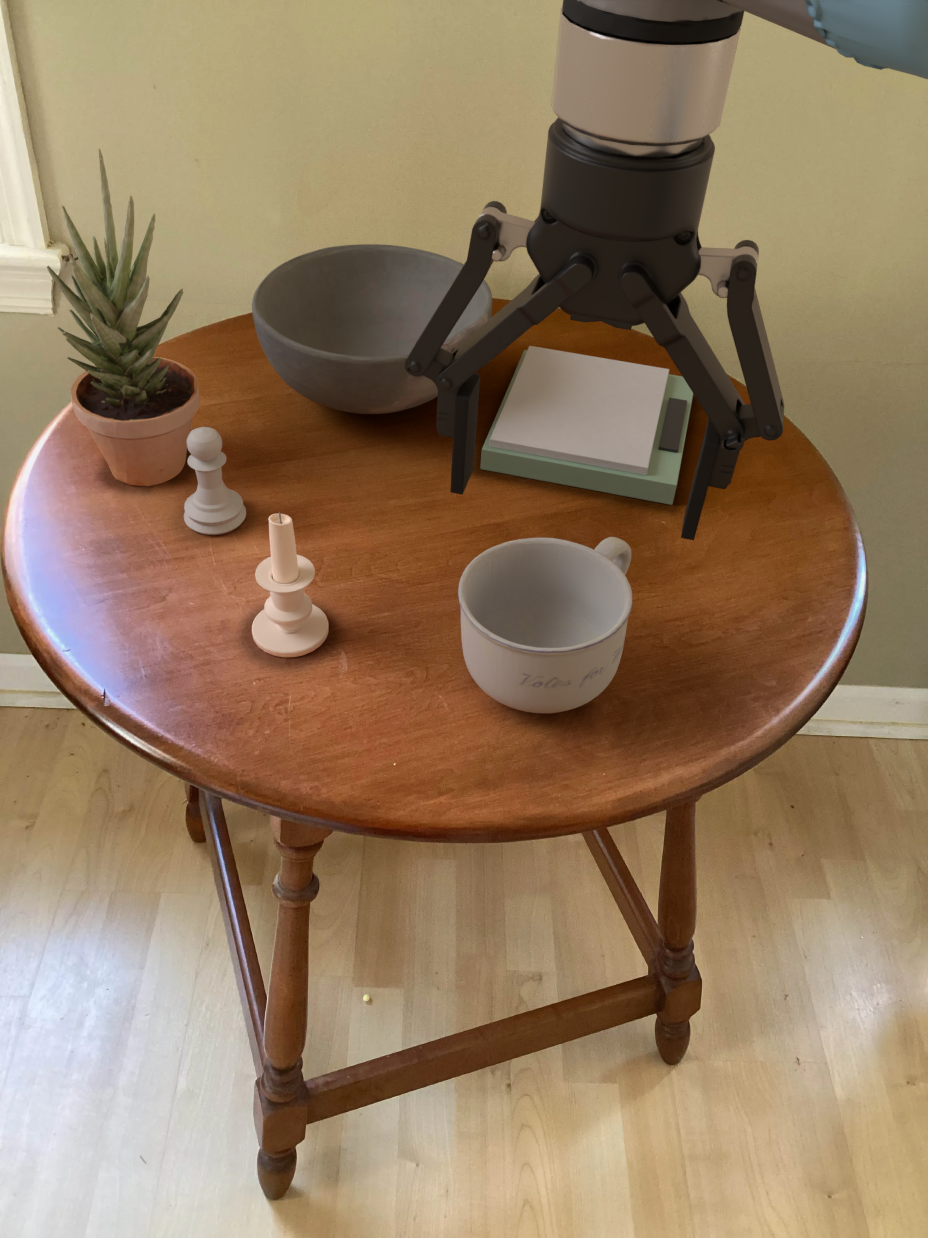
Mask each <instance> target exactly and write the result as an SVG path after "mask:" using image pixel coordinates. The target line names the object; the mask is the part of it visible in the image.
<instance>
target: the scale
mask: <svg viewBox="0 0 928 1238" xmlns="http://www.w3.org/2000/svg"><path fill="white" fill-rule="evenodd" d="M693 397H694V394H693V392H692V391H691V389H690V387H689V386H688V384H687V383H686V381H685V379H684V378H683V376H682V375H676V374H670V368H664V367H658V366H653V365H648V364H647V365H646V364H640V363H634V362H629V361H622V360H618V359H611V358H605V357H599V356H593V355H587V354H581V353H575V352H571V351H570V352H569V351H564V350H557V349H553V348H545V347H539V346H534V345H529V346H528V349H524V350H523V352H522V354H521V357H520V359H519V361H518V364H517V366H516V369H515V371H514V373H513V374H512V378H511V380H510V383H509V385H508V387H507V389H506V391H505V395H504V396H503V398H502V401H501V404H500V406H499V408H498V410H497V413H496V416H495V417H494V420H493V422H492V424H491V427H490V429H489V431H488V434H487V436H486V438H485V440H484V443H483V446H482V447H481V455H480V470H484V471H488V472H495V473H500V474H504V475H510V476H515V477H521V478H525V479H531V480H535V481H541V482H547V483H553V484H557V485H563V486H569V487H572V488H573V487H574V488H579V489H585V490H590V491H597V492H600V493H606V494H611V495H617V496H620V497H621V496H623V497H628V498H632V499H638V500H642V501H649V502H652V503H653V502H654V503H659V504H664V505H670V506H673V505H674V504H673V503H674V499H675V495H676V490H677V488H678V487H677V486H678V482H679V475H680V471H681V470H680V469H681V464H682V458H683V455H684V454H683V452H684V447H685V442H686V437H687V431H688V426H689V420H690V415H691V409H692V405H693V404H692V403H693Z"/></svg>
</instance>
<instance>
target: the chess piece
mask: <svg viewBox="0 0 928 1238" xmlns="http://www.w3.org/2000/svg"><path fill="white" fill-rule="evenodd" d="M222 449H223V438H222V437H221V435H220V433H219V432H218V431H217V430H216V429H214V428H213V427H209V426H200V427H196V428H194V429H192V430H190V434H189V435H188V438H187V451H188V452H189V454H190V455H189V456H188V458H187V459H186V460H187V461H186V462H187V465H188V467H190V468H191V469H192V470H194V471H195V476H196V479H197V486H196V490H195V492H193V493H192V494H190V495H189V496H188V497H187V499H186V500H185V501H184V504H183V509H184V513H183V520H184V523H185V524H186V526H187V527H188V528H189V529H191V530H192V531H194V532H196V533H198V534H201V535H206V536H218V535H225V534H228V533H230V532H232V531H235V530H236V529H237V528H239V527H240V526H241V524H242V523H243V522H244V521H245V519H246V517H247V509H246V506H245V505H244V500H243V497H242V496H241V494H239V493H238V492H237V491H235V490H233V489H230V488H228V487H227V486H226V484H225V481H223V472H222V471H223V470H222V467H223V466H224V465H225V464H226V463H227V456H226V454H225V453H224V452H223V451H222Z"/></svg>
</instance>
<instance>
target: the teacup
mask: <svg viewBox="0 0 928 1238" xmlns="http://www.w3.org/2000/svg"><path fill="white" fill-rule="evenodd" d="M631 561H632V548H631V547H630V545H629V544H628V543H627V542H626V541H625V540H623V539H621V538H619V537H616V536H608V537H606V538H604V539H603V540H601V541H600V542H599V543H598V544H597V545H596V547H595V548H594V549H593V548H591V547H589V546H587V545H584V544H581V543H579V542H573V541H570V540H567V539H561V538H555V537H528V538H527V537H526V538H518V539H513V540H510V541H505V542H502V543H500V544H497V545H494V546H491V547H489V548H487V549H486V550H484V551H482V552H481V553H480V554H478V555H477V556H475V557H474V558H473V559H472V560H470V562H469V564H467V566H465V568H464V570H463V571H462V575H461V576H460V578H459V582H458V588H457V596H458V597H457V598H458V602H459V607H460V636H461V637H460V638H461V647H462V655H463V659H464V662H465V666H466V668H467V671H468V672H469V674H470V676H471V678H472V680H473V681H474V682H475V683H476V684H477V686H478V687H479V688H480V689H481V690H482V692H484V693H485V694H486V695H487V696H489V697H490V698H492V699H493V700H494V701H496V702H498V703H500V704H502V705H504V706H507V707H509V708H511V709H514V710H518V711H522V712H525V713H532V714H557V713H561V712H567V711H570V710H573V709H576V708H577V709H578V708H579V707H582V706H583V705H585V704H587V703H589V702H591V701H592V700H594V699H595V698H597V697H598V696H599V695H601V694H602V693H603V691H605V690H606V688H607V687H608V686H609V685H610V684H611V682H612V681H613V678H614V677H615V675H616V674H617V671H618V669H619V665H620V663H621V660H622V655H623V652H624V651H623V650H624V647H625V646H624V645H625V641H626V640H625V639H626V635H627V628H628V619H629V617H630V614H631V612H632V609H633V591H632V587H631V584H630V582H629V580H628V578H627V576H626V575H627V573H628V570H629V568H630V564H631Z"/></svg>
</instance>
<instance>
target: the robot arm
mask: <svg viewBox="0 0 928 1238" xmlns="http://www.w3.org/2000/svg"><path fill="white" fill-rule="evenodd" d="M745 13H748V14H751V15H753V16H755V17H757V18H760V19H763V20H765V21H767V22H770V23H772V24H774V25H777V26H779V27H781V28H784V29H786V30H789V31H791V32H793V33H795V34H798V35H800V36H803V37H805V38H807V39H810V40H813V41H815V42H818V43H820V44H821V45H825V46H827V47H829V48H831V49H834V50H836V51H837V53H838V54H839V55H841V56H843V57H845V58H847V59H848V58H849V59H854V61H855V62H856V63H857V64H859V65H861V66H864V67H867V68H870V69H871V68H872V69H875V70H880V71H882V70H885V69H886V70H888V69H889V70H891V71H895V72H896V71H897V72H901V73H904V74H908V75H911V76H916V77H918V78H920V79H925V80H928V0H562V5H561V8H560V13H559V23H558V31H557V42H556V52H555V60H554V61H555V62H554V71H553V78H552V79H553V80H552V89H551V99H550V100H551V101H550V107H551V110H552V112H553V113H554V114H555V116H556V117H557V118H556V119H555V120H554V122H552V123H551V124H550V126H549V128H548V131H547V140H546V150H545V158H544V161H545V162H544V168H543V169H544V171H543V178H542V188H541V198H540V207H539V213H538V216H537V217H536V219H534V220H532V219H528V218H523V217H521V216H516V215H512V214H509V213H508V211H507V208H506V206H505V205H504V204H503V203H502V202H500V201H498V200H492V201H489V202H487V203H486V205H484V206H483V209H482V211H481V212H480V214H479V216H478V217H477V219H476V220H475V222H474V224H473V226H472V228H471V234H470V239H469V245H468V251H467V255H466V259H465V262H464V263H463V264H464V265H463V267H462V268H461V270H460V272H459V273H458V275H457V277H456V278H455V280H454V281H453V283H452V285H451V286H450V288H449V290H448V291H447V293H446V295H445V296H444V298H443V299H442V301H441V303H440V304H439V306H438V308H437V309H436V311H435V312H434V314H433V316H432V317H431V319H430V321H429V322H428V324H427V326H426V327H425V329H424V330H423V332H422V334H421V335H420V337H419V339H418V340H417V342H416V344H415V345H414V347H413V349H412V351H411V352H410V354H409V356H408V358H407V359H406V361H405V369H406V371H407V372H408V373H409V374H410V375H412V376H414V377H419V376H422V375H423V376H425V377H427V378H429V379H430V380H432V381H433V382H434V383H435V385H436V386H437V390H438V396H437V399H436V400H437V401H436V423H435V424H436V426H435V427H436V430H437V433H438V435H439V437H445V438H451V439H452V451H451V453H452V454H451V473H450V476H451V477H450V489H449V492H450V493H451V494H456V495H460V496H461V495H464V493H465V490H466V488H467V486H468V483H469V482H470V479H471V477H472V474H473V472H474V470H475V455H476V454H475V453H476V441H477V429H478V415H479V414H478V413H479V412H478V411H479V400H480V387H481V385H480V384H481V374H480V373H478V372H479V371H480V370H481V369H482V368H484V367H485V366H486V365H487V364H489V363H490V362H491V361H492V360H493V359H495V358H496V357H497V356H499V355H500V354H501V353H502V352H503V351H504V350H506V349H507V348H508V347H509V346H511V344H513V343H514V342H516V340H517V339H519V338H520V337H522V335H524V334H525V333H527V331H528V330H530V329H531V328H532V327H533V326H537V325H539V324H540V323H542V322H543V321H544V320H545V319H546V318H547V317H549V316H550V315H552V313H554V312H555V311H556V310H558V308H559V309H560V310H561V311H562V312H564V313H565V314H567V315H569V316H570V318H569V320H570V321H574V322H580V323H595V322H602V323H604V324H606V325H609V326H611V327H613V328H616V329H621V330H628V331H632V328H633V327H636V326H640V325H643V324H645V326H646V328H647V330H648V331H649V332H650V334H651V335H652V337H653V339H654V341H655V342H656V343H657V344H658V346H660V347H663V348H664V349H665V351H666V353H667V354H668V356H669V357H670V359H671V361H672V362H673V364H674V365H675V367H676V368H677V370H678V372H679V373H680V376H682V377H683V378H684V379H685V381H686V383H687V384H688V386H689V387H690V389H691V391H692V392H693V396H694V397H695V399H696V400H697V402H698V403H699V405H700V407H701V408H702V409H703V411H704V413H705V414H706V416H707V422H706V427H705V430H704V434H703V439H702V442H701V446H700V450H699V454H698V458H697V462H696V466H695V470H694V475H693V478H692V482H691V486H690V490H689V494H688V498H687V501H686V505H685V510H684V515H683V522H682V528H681V534H680V539H684V540H690V541H695V539H696V534H697V530H698V526H699V523H700V520H701V515H702V512H703V509H704V508H703V507H704V504H705V500H706V498H707V497H706V496H707V493H708V489H709V487H711V488H716V489H721V490H727V488H728V486H729V485H730V484H731V483H732V480H733V476H734V473H735V470H736V466H737V462H738V458H739V456H740V453H741V450H742V449H743V447H744V446H745V442H746V441H747V440H749V439H752V438H754V439H755V438H762V439H763V440H765V441H769V442H770V441H775V440H778V439H779V438H780V437H782V436H783V433H784V423H785V401H784V397H783V393H782V390H781V389H782V388H781V385H780V381H779V377H778V374H777V370H776V365H775V362H774V358H773V354H772V353H773V352H772V351H771V346H770V341H769V338H768V334H767V329H766V325H765V322H764V319H763V314H762V309H761V306H760V301H759V298H758V294H757V291H756V280H757V272H758V265H759V255H760V247H759V246H758V245H757V243H756V242H755V241H754V240H751V239H744V240H740V241H739V242H738V243H737V244H736V245H734V248H725V247H706V246H705V247H703V246H702V245H701V240H700V237H699V228H700V227H699V226H700V222H701V217H702V213H703V207H704V204H705V199H706V193H707V189H708V184H709V180H710V175H711V172H712V171H711V170H712V166H713V162H714V155H715V152H716V151H715V150H716V146H715V143H714V140H713V139H712V137H711V134H712V133H714V132H715V131H716V130H718V128H719V127H720V126H721V122H722V117H723V113H724V107H725V103H726V98H727V94H728V89H729V84H730V80H731V75H732V72H733V66H734V62H735V57H736V53H737V49H738V45H739V40H740V35H741V31H742V30H741V29H742V28H741V27H742V24H743V19H744V15H745ZM519 248H526V252H527V254H528V257H529V258H530V260H531V262H532V263H533V265H534V267H535V269H536V271H537V272H538V274H537V275H536V276H535V277H534V278H533V279H532V280H531V281H530V283H529V284H528V285H527V286H526V287H525V288H524V289H523V290H521V291H520V292H519V293H518V294H517V295H516V296H515V297H514V298H512V299H511V300H510V301H509V302H507V304H506V305H505V306H503V307H502V308H501V309H500V310H499V311H497V312H496V313H495V314H494V315H493V316H491V319H489V320H488V321H487V322H486V323H485V324H484V325H483V326H481V327H480V328H479V329H478V330H477V331H476V332H475V333H473V334H472V335H471V336H470V337H469V338H468V339H466V340H465V341H464V342H463V343H462V344H461V345H460V346H458V347H457V348H456V349H455V348H454V347H453V349H452V350H451V352H448V351H446V350H444V349H442V348H441V346H442V345H443V343H444V342H445V340H446V339H447V337H448V335H449V334H450V332H451V331H452V329H453V328H454V326H455V324H456V323H457V321H458V320H459V318H460V317H461V315H462V313H463V312H464V310H465V309H466V307H467V306H468V304H469V302H470V301H471V299H472V298H473V296H474V295H475V293H476V291H477V290H478V288H479V287H480V285H481V284H482V282H483V280H485V279H486V277H487V275H488V273H489V272H490V269H491V267H492V265H493V263H494V262H495V263H496V262H497V263H499V262H505V261H507V260H509V258H510V257H511V255H512V253H513V252H514V251H515V250H516V249H519ZM698 276H703V277H704V278H706V279H707V280H708V281H709V282H710V285H711V291H712V292H713V294H714V295H715V296H716V297H718V298H720V299H726V315H727V320H728V325H729V329H730V333H731V335H732V339H733V343H734V347H735V351H736V354H737V358H738V361H739V365H740V368H741V372H742V375H743V379H744V384H745V387H746V391H747V394H748V399H749V401H750V403H747V404H746V403H745V401H744V400H743V398H742V397H741V395H740V393H739V392H738V390H737V389H736V386H735V385H734V384H733V382H732V380H731V379H730V376H728V373H727V372H726V370H725V369H724V367H723V365H722V364H721V362H720V360H719V358H718V357H717V355H716V354H715V352H714V351H713V349H712V347H711V346H710V344H709V343H708V341H707V339H706V338H705V335H704V334H703V333H702V331H701V330H700V328H699V326H698V324H697V322H696V321H695V319H694V317H693V316H692V313H691V312H690V308H689V304H688V301H687V300H686V298H685V297H684V295H683V293H682V292H683V291H684V290H685V289H687V288H688V287H689V286H690V285H691V284H692V283H693V282H694V281H695V280H696V279H697V278H698ZM454 349H455V350H454Z"/></svg>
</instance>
